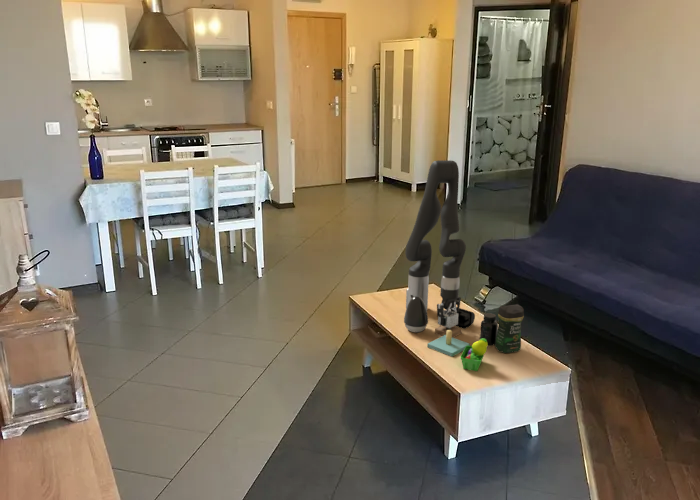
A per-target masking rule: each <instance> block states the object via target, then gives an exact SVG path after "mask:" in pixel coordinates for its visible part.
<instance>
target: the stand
mask: <svg viewBox="0 0 700 500" xmlns="http://www.w3.org/2000/svg"><path fill="white" fill-rule="evenodd" d="M447 330H451V331H452V337H453V338H456V337H457V336H458V335H460V334H462V332H463V331H462V330H463V328H460V327H457V326H453V327H451V328H447V327H444V326H442V325H439V326H438V327H436V328H435V329H434V334H436V335H439V336H440V337H442V336H444V335H446V331H447Z"/></svg>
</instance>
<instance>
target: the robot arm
mask: <svg viewBox="0 0 700 500" xmlns="http://www.w3.org/2000/svg"><path fill="white" fill-rule="evenodd" d="M459 175H460V173H459V166H458V163H457V162H456V160H455V161H454V160H451V159H450V160H447V159H445V160H444V159H443V160H434V161H432V162H431V164H430V166H429V169H428V174H427V179H426V183H425V187H424V188H425V189H424V192H423V196H422V200H421V202H420V205H419V209H418V212H417V215H416V219H415V222H414V226H413V228H412V231H411V233H410V236H409V238H408V239H407V243H406V246H405V253H404V254H405V258H406V259H407V261H409V262H415V263H414V264H413V265H411V266H410V267H409V268H408V284H407V285H408V288H406V295H405V308H407V306H408V303H409V301H410V300H411V296H410V295H413V296H414V297H415V296H418V297H420V298H422V300H423V301H424V304H425V307H426V310H427V311H428V304H429V303H428V302H429V280H430V279H429V277H430V271H431V264H432V255H433V254H432V252H433V251H432V249H433V248H432V244H431V243H430V241H429V240H427V239H424V238H425V237H426V236H427V235H428V234H429V233H430V232H431V231H432V230H433V229H434V227H435V226H436V225H437V224H438V222H439V218H440V225H441V233H440V234H441V235H440V241H439V244H438V245H439V246H438V251H439V253H440V255H441V256H442V257H443V258H451V257H452V258H451V259H448V260H446V261H444V262H443V264H442V269H441V271H442V272H441V273H442V274H441V280H440V295H439V296H440V297H441V298H442V300H441V303H437V304H436V312H437V313H436V316H437V318H438V317H441V321H440V324H441V325H440V326H446V316H447V313H449V310H450V311H453V312H456V313H457V311H459V308H460V307H461V300H462V297H461V296H460V295H459V293H460V283H461V282H460V274H461V272H460V271H461V265H462V262H463V260H464V257H465V254H466V249H467V246H466V243H465V241H464V240H463V239H461V238H455V239H454V238H453V239H450V236H451V235H453V234H458V233H459V231H460V223H459V222H460V221H459V212H458V200H459V199H458V198H459V183H460V182H459V178H460V176H459ZM440 184H447V186H448V188H447V190H448V191H447V195H446V199H445V201H444V202H443V205H441V202H440V200H439V197H438V194H437V192H438V191H437V190H438V187H439V185H440ZM445 310H446V311H445ZM444 312H445V314H444Z"/></svg>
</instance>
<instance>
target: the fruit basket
mask: <svg viewBox="0 0 700 500" xmlns="http://www.w3.org/2000/svg"><path fill="white" fill-rule="evenodd" d="M487 347H488V343H487V340H486V339H483V338H482V339H480V338H479V340H477V341H475V342H473V343H472V345H470V346H466V347H465V349H464V350H463V351H462V353H461V355H460V360H461V363H462V368H463V370H467V371H468V370H469V371H474V372H478V370H479V368H480V366H481V364H482V361H483V358H484V357H485V356H484V355H485V354H486V352H487V349H488V348H487Z"/></svg>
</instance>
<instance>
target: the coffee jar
mask: <svg viewBox="0 0 700 500" xmlns="http://www.w3.org/2000/svg"><path fill="white" fill-rule="evenodd" d="M524 310H525V309H524V307H523V306H521V305H520V304H519V303H516V304H510V305H503V306H501V305H500V306H499V307H498V312H497V316H498V332H497V337H496V342H495V345H494V347H495V349H496V350H497V351H498V352H501V353H502V354H503V353H505V354H509V353H517V352H520V351H521V347H522V341H521V339H522V333H521V332H522V324H523V323H522V322H523V320H524V317H525V311H524Z"/></svg>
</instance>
